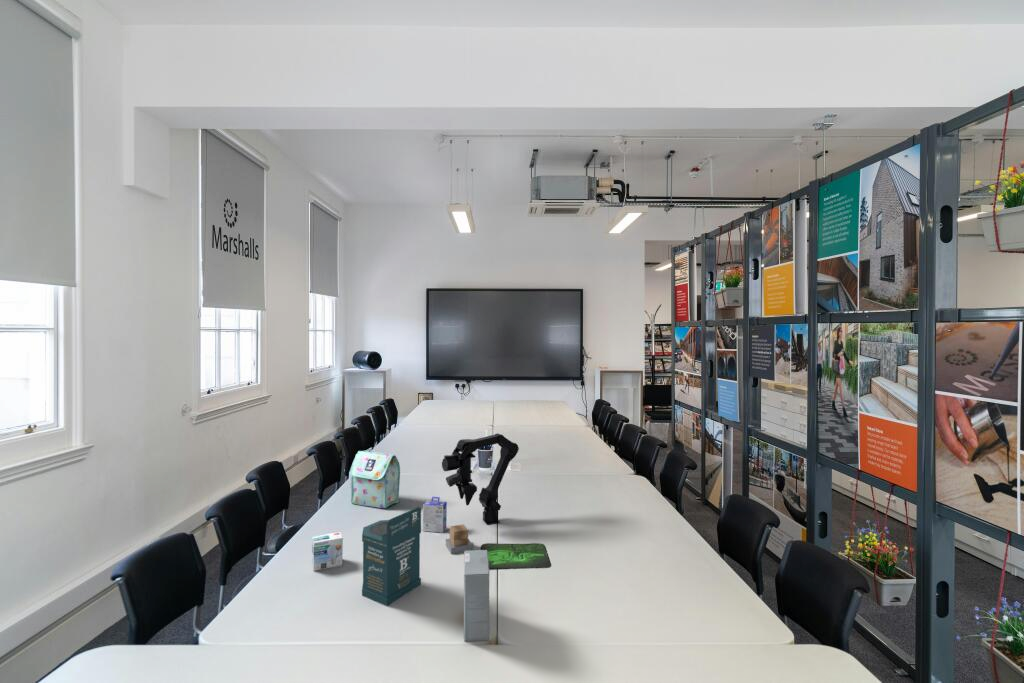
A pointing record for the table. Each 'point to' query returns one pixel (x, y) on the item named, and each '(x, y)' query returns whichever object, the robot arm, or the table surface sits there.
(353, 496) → the lunch bag
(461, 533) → the walnut block
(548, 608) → the table surface
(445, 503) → the ink cartridge box
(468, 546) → the base slab
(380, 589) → the donation box
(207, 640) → the table surface
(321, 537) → the light bulb box
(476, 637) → the hard drive box
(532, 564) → the mouse mat
